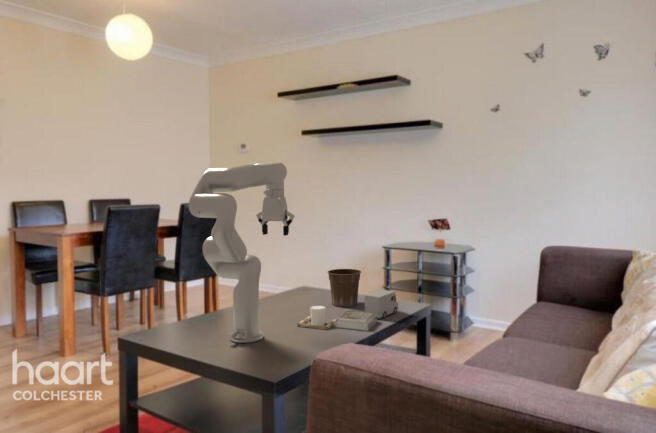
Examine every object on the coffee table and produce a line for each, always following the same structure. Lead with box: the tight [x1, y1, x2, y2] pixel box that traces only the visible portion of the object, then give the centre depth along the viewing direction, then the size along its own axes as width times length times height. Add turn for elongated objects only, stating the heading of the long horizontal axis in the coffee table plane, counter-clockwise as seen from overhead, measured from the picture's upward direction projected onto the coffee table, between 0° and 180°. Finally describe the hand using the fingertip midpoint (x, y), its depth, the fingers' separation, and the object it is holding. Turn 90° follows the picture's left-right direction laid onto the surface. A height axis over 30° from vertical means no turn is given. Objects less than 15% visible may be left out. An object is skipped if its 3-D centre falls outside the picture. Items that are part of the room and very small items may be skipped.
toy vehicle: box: [364, 289, 399, 319], centre depth 215 cm, size 9×18×10 cm, turn 143°
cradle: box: [296, 315, 338, 331], centre depth 200 cm, size 12×13×1 cm
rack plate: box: [334, 310, 378, 332], centre depth 200 cm, size 14×14×4 cm
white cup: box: [309, 305, 327, 326], centre depth 200 cm, size 7×7×7 cm
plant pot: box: [327, 268, 362, 308], centre depth 233 cm, size 16×16×16 cm
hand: (275, 234), depth 202 cm, fingers open, 9 cm apart
